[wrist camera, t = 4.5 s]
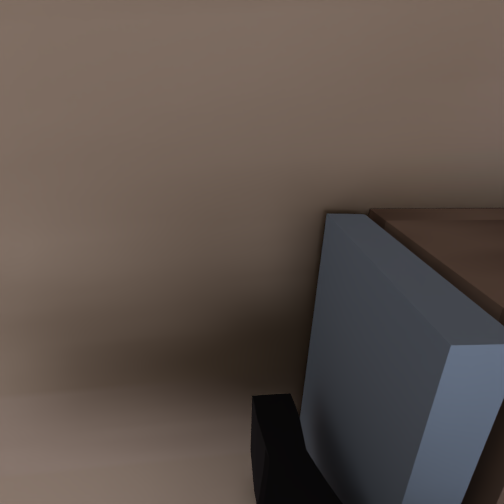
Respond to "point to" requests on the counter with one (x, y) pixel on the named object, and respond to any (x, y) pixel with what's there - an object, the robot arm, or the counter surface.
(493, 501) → the walnut cabinet
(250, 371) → the counter surface
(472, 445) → the slate door
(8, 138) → the counter surface
